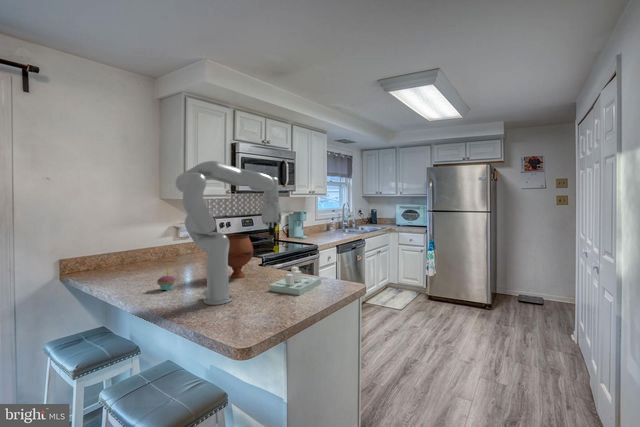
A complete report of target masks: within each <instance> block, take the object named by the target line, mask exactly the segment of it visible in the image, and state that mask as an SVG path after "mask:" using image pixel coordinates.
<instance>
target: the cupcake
mask: <svg viewBox="0 0 640 427" xmlns="http://www.w3.org/2000/svg"><path fill="white" fill-rule="evenodd" d="M169 267H170V266H168V267H167V270H166V272H167V273H166V275H163V276H162V277H160V278H159V279H158V280H157V282H156V283H157V284H156V285H159V287H160V289H161V291H162V290H168V291H171V290H172V289H173V285H174V284H175V282H176V278H175V277H174V276H171V275H169V274H170V273H169V272H170V268H169ZM170 289H171V290H170Z"/></svg>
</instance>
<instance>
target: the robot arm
mask: <svg viewBox="0 0 640 427" xmlns="http://www.w3.org/2000/svg"><path fill="white" fill-rule="evenodd" d="M207 181H217V182H220V183H221V182H222V183H224V184H228V185H231V186H237V187H249V189H250V190H251V191H253V192H263V197H264V198H262V201H263V203H262V207H261V222H262V223H263V225H266V226H267V228H268V235H269V236H275V235H276V228H277V226H278V225H281V224H282V222H281V221H282V209H281V204H280V201H279V200H280V199H279V179H278V178H277V177H276V176H274V177H273V176H270V175H269V174H268V175H267V174H264V173H262V172H258V171H254V170H250V169H249V170H248V169H244V168H240V167H235V166H233V165H230V164H227V163H224V162H220V161H218V160H207V161H203V162H200V163H198V164H196V165H195V166H193V167H191V168H190V169H188V170H186V171H184V172H182V173H180V174H179V175H178V176H177V178H176V180H175V186H176V188H177V190H178V191H179V192H182V193H183V194H182V207H183V209H184V210H185V213H186V214H187V215H186V217H185V218H184V227H185V230H186V232H187V233H188V235H189V236H190V238H191V239H192V241H193V243H194V244H195V246H196V247H197V248H198V249H199V250H200V251H202V252H207V257H206V262H205V265H206V266H205V267H206V289H204V291H202V295H204V296H205V298H204V299H203V303H204V305H209V306H217V305H218V306H219V305H224V304H228V303H230V302H232V301H233V296H232V295H230V288H229V286H230V285H229V282H230V280H229V279H230V278H229V266H228V252H229V245H230V244H229V239H228V237H227V236H226V235H227V234H224V233H221V232H218V231H215V230H216V227H217V226H216V225H217V224H216V221H215V218H214V216H213V215H212V214H211V212H210V210H209V208H208V207H207V204H206V203H205V201H204V192H205V189H206V187H207Z"/></svg>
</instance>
